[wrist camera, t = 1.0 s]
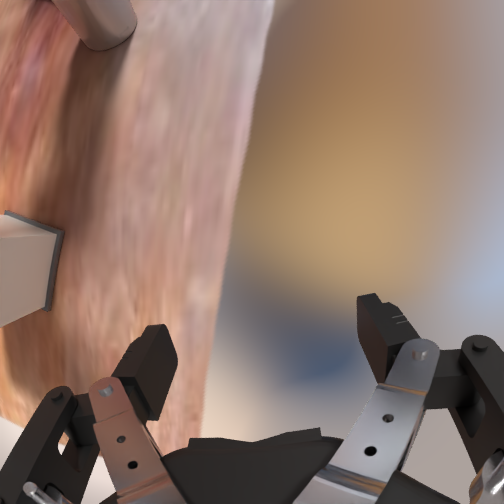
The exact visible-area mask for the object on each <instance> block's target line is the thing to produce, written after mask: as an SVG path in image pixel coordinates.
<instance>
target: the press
mask: <svg viewBox="0 0 504 504" xmlns="http://www.w3.org/2000/svg"><path fill="white" fill-rule="evenodd" d="M64 232H65V231H62V230H60V229H57V228H54V227H51V226H49V225H46V224H43V223H41V222H38V221H35V220H33V219H30V218H27V217H25V216H22V215H19V214H17V213H14V212H11V211H9V210H5V213H4V215H0V328H1V327H3V326H5V325H7V324H9V323H11V322H13V321H15V320H17V319H20V318H22V317H24V316H26V315H28V314H30V313H32V312H34V311H37V310H39V309H42V310H44V311H47V312H48V311H50V310H51V304H52V297H53V290H54V283H55V277H56V271H57V265H58V260H59V255H60V250H61V245H62V241H63V236H64Z"/></svg>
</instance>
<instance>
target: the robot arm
mask: <svg viewBox="0 0 504 504" xmlns="http://www.w3.org/2000/svg"><path fill="white" fill-rule="evenodd" d="M52 1H53V3H54V4H55V5H56V7H57V8H58V9H59V11H60V12H61V13H62V15H63V16H64V17H65V18H66V20H67V21H68V22H69V24H70V25H71V26H72V28H73V29H74V30H75V31H76V33H77V34H78V36H79V37H80V38H81V39H82V41H83V42H84V43H85V44H86V46H87V47H88V48H90V49H92V50H98V51H100V50H106V49H110V48H112V47H115V46H117V45H118V44H120V43H122V42H123V41H124V40H126V39H127V38H128V37H129V36H130V35H131V34H132V32H133V31H134V29H135V27H136V24H137V17H136V14H135V12H134V9H133V7H132V5H131V2H130V0H52ZM357 332H358V338H359V342H360V344H361V346H362V348H363V351H364V353H365V355H366V358H367V360H368V362H369V365H370V367H371V369H372V372H373V374H374V376H375V379H376V381H377V383H378V385H377V386H376V388H375V390H374V392H373V393H372V395H371V397H370V399H369V401H368V402H367V404H366V406H365V407H364V409H363V411H362V413H361V414H360V416H359V418H358V419H357V421H356V422H355V424H354V426H353V427H352V429H351V430H350V432H349V434H348V435H347V437H346V438H345V440H343V439H340V438H335V437H325V436H321V431H320V427H319V428H313V429H307V430H300V431H293V432H286V433H283V434H280V435H277V436H274V437H270V438H267V439H264V440H260V441H256V442H245V441H238V440H231V439H225V438H190V439H189V444H188V447H186V448H182V449H179V450H176V451H173V452H171V453H169V454H167V455H165V456H163V454H162V452H161V451H160V449H159V447H158V446H157V444H156V442H155V441H154V439H153V437H152V435H151V433H150V432H149V430H148V428H147V427H146V422H147V420H152V421H158V420H159V417H160V414H161V411H162V408H163V406H164V403H165V400H166V397H167V394H168V391H169V388H170V386H171V383H172V380H173V377H174V374H175V372H176V369H177V365H178V358H177V353H176V351H175V348H174V345H173V342H172V340H171V337H170V334H169V331H168V329H167V327H166V325H165V324H159V325H148V326H147V327H146V328H145V330H144V332H143V334H142V335H141V337H138V338H137V339H136V340H135V341H133V342H132V343H131V344H130V345H129V347H128V349H127V350H126V353H125V354H124V355H123V357H122V359H121V360H120V362H119V364H118V365H117V367H116V369H115V370H114V372H113V374H112V375H111V377H106V378H103V379H100V380H98V381H97V382H95V383H94V384H93V385H92V386H91V388H90V389H89V393H86V394H81V395H76V396H75V395H74V394H73V392H72V391H71V389H70V388H69V387H67V386H60V387H56V388H54V389H52V390H51V391H49V392H48V393H47V394H46V396H45V397H44V399H43V400H42V402H41V403H40V405H39V406H38V408H37V410H36V411H35V413H34V414H33V416H32V417H31V419H30V421H29V422H28V424H27V426H26V427H25V429H24V431H23V432H22V434H21V436H20V437H19V439H18V441H17V442H16V444H15V446H14V447H13V449H12V451H11V453H10V455H9V456H8V458H7V460H6V462H5V464H4V465H3V467H2V469H1V471H0V504H81V501H82V498H83V495H84V492H85V489H86V487H87V484H88V481H89V478H90V475H91V473H92V470H93V467H94V465H95V462H96V459H97V457H98V454H99V451H100V450H101V453H102V456H103V458H104V461H105V464H106V467H107V469H108V472H109V475H110V477H111V480H112V482H113V485H114V487H115V489H116V492H115V493H114V494H112V495H111V496H110V497H108V498H106V499H105V500H103V501H102V502H101V503H99V504H460V503H459V502H457V501H455V500H453V499H451V498H449V497H447V496H445V495H443V494H441V493H439V492H437V491H435V490H433V489H431V488H430V487H428V486H426V485H424V484H422V483H420V482H418V481H417V480H415V479H413V478H411V477H409V476H408V475H406V474H404V473H402V472H401V471H402V469H403V467H404V465H405V462H406V460H407V458H408V455H409V453H410V450H411V448H412V445H413V443H414V441H415V438H416V436H417V433H418V431H419V428H420V426H421V423H422V420H423V418H424V415H425V412H426V410H427V409H442V408H448V410H449V412H450V414H451V416H452V418H453V420H454V422H455V425H456V427H457V429H458V431H459V433H460V435H461V438H462V440H463V443H464V445H465V447H466V450H467V452H468V454H469V457H470V459H471V461H472V464H473V467H474V469H475V472H476V474H477V475H476V477H475V478H474V479H473V481H472V482H471V485H470V488H469V497H470V504H504V352H503V351H502V350H501V349H500V347H499V346H498V345H497V344H496V343H495V341H494V340H492V339H491V338H489V337H487V336H483V335H473V336H470V337H467V338H466V339H465V340H464V341H463V343H462V346H461V349H455V350H440V349H439V347H438V345H437V344H436V343H434V342H433V341H431V340H428V339H422V338H420V336H419V335H418V333H417V332H416V331H415V329H414V328H413V327H412V325H411V324H410V323H409V321H407V318H406V317H405V316H404V315H403V313H402V312H401V311H400V309H399V308H398V307H397V306H395V305H393V304H391V303H390V302H387V303H382V302H381V300H380V299H379V298H378V296H377V295H376V294H375V293H372V294H367V295H362V296H358V297H357ZM63 432H65V433H66V435H67V436H68V437H69V440H68V443H67V445H66V447H65V449H64V451H63V453H62V455H61V454H60V453H59V450H58V442H59V440H60V438H61V436H62V434H63Z"/></svg>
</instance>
